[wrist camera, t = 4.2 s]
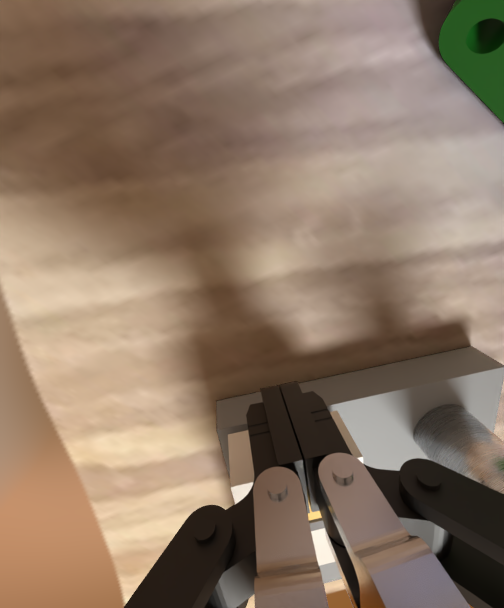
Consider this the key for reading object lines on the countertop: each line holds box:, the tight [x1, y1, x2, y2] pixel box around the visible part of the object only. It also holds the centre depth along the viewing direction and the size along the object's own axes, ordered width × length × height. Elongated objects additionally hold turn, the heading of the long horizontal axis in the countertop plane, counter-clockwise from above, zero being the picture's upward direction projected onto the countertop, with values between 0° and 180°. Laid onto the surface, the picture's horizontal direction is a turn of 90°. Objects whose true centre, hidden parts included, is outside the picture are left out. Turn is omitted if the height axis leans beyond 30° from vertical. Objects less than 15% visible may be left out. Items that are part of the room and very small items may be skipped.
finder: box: [228, 411, 363, 566], centre depth 13 cm, size 6×5×3 cm
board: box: [216, 346, 504, 583], centre depth 17 cm, size 14×14×2 cm
